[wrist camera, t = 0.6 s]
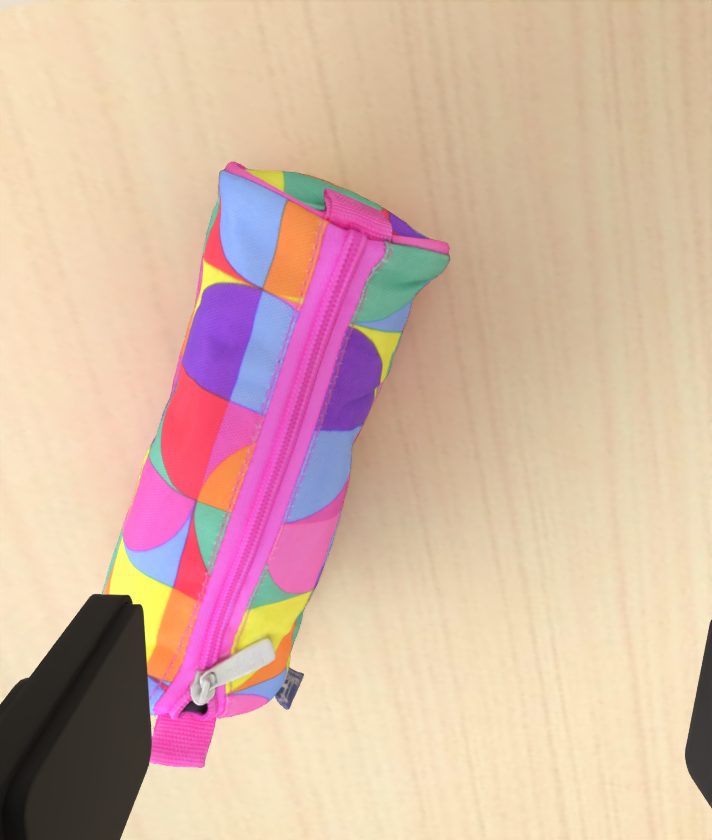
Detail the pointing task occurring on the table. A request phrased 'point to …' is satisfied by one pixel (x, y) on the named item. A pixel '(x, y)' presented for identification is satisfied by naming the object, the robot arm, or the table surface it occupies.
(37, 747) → the robot arm
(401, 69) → the table surface
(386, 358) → the pencil case
